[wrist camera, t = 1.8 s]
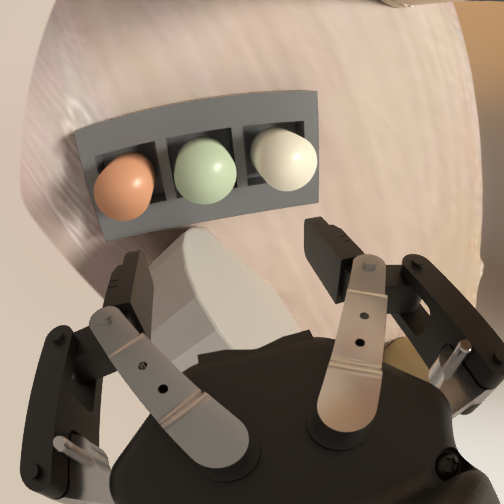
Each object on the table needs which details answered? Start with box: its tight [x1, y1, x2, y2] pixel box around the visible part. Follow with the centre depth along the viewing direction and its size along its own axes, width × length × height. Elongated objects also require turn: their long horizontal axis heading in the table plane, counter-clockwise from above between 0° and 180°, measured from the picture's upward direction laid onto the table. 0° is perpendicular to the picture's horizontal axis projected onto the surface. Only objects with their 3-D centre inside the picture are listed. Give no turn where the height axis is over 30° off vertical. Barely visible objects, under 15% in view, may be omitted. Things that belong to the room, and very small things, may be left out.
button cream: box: [249, 127, 317, 191], centre depth 25 cm, size 5×5×4 cm
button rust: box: [94, 152, 156, 221], centre depth 23 cm, size 5×5×4 cm
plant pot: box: [383, 337, 430, 383], centre depth 52 cm, size 15×15×16 cm
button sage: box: [174, 136, 237, 205], centre depth 24 cm, size 5×5×4 cm
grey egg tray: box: [74, 90, 319, 242], centre depth 26 cm, size 12×23×3 cm, turn 95°
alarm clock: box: [148, 227, 302, 372], centre depth 29 cm, size 21×8×20 cm, turn 39°
